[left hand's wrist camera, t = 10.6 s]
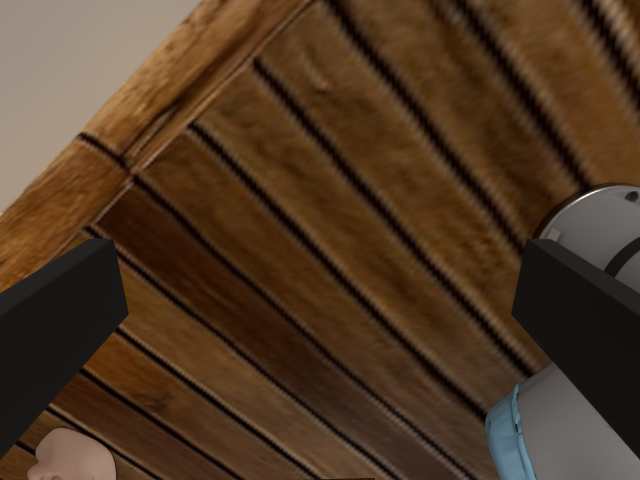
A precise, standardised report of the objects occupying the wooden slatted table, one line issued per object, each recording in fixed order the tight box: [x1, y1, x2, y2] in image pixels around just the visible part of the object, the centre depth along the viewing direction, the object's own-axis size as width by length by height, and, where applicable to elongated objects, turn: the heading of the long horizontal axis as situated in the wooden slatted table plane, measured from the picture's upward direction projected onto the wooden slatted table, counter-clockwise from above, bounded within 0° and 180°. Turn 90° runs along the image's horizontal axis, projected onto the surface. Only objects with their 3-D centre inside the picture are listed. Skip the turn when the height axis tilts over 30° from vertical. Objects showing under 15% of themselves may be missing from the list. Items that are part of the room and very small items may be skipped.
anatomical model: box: [27, 428, 116, 480], centre depth 52 cm, size 13×4×12 cm
